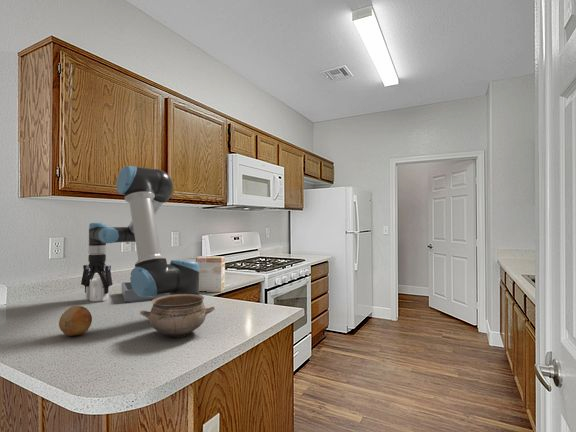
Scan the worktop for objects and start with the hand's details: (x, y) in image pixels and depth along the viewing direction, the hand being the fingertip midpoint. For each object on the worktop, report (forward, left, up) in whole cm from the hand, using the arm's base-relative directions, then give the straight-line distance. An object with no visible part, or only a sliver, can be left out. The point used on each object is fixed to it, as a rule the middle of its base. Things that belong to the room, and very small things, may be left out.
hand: (96, 299), depth 168 cm
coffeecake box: (+34, -45, -1) cm, 57 cm away
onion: (-46, -30, -1) cm, 55 cm away
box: (+15, -19, 0) cm, 24 cm away
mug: (0, -1, -1) cm, 1 cm away
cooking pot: (-38, -64, -1) cm, 75 cm away
